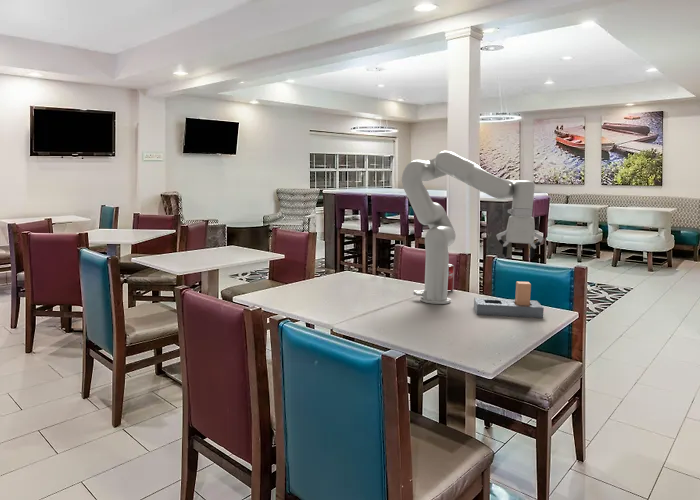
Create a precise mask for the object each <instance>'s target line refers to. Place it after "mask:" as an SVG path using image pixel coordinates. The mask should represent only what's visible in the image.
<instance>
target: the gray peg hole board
mask: <svg viewBox="0 0 700 500" xmlns="http://www.w3.org/2000/svg"><path fill="white" fill-rule="evenodd" d="M473 309H474V311H475V314H476V316H477V315H479V316H497V317H498V316H499V317H511V318H512V317H514V318H515V317H517V318H529V317H535V318H534V319H544V309H545V308H544V306H543V305H541V303H540V302H539V301H538V300H531V299H530V305H515V299H512V298H511V299H510V298H508V299H507V298H506V299H505V298H489V297H487V298H486V297H473Z"/></svg>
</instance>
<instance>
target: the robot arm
mask: <svg viewBox="0 0 700 500" xmlns="http://www.w3.org/2000/svg"><path fill="white" fill-rule="evenodd" d="M448 175H449V176H451V177H453V178H455V179H456V180H458V181H460V182H463V183H465V184H466V185H468V186H470V187H473V188H474V189H476V190H478V191H479V192H482V193H483V194H485V195H488V196H490V197H492V198H494V199H496V200H497V199H498V200H499V199H500V200H506V199H507V200H508V199H512V202H511V208H510V209H507V214H510V216H509V217H508V219H507V220H508V221H507V225H506V229H505V230H504V231H502V232H499V233H497V234H496V238H497V240H498V242H499V244H500V245H501V246H502V253H501V255H503V258H506V257H507V256H508V255H507V254H508V246H507V245H509V244H510V243H513V244H529V245H530V247H529V254H528V256H529V259H531V260H533V257H535V253H536V249H537V247H539V246H540V245H541V243H542V242H543V240H544V236H542V235H539V234H538V233H537V232H535V231H536V230H535V228H536V226H535V222H536V221H535V217H533V209H534V197H535V182H534V181H532V180H511V179H506V178H505V179H504V178H501V177H499V176H497V175H494V174H493V173H490V172H488V171H486V170H484V169H483V168H481V166H479V164H476V162H473V161H471V160H469V159H466V158H464V157H462V156H460V155H458V154H457V153H455V152H453V151H450V150H442V151H440V152H438V153H437V154H436V156H435V158H431V159H428V160H423V159H414V160H412V161H410V162H409V163H408V164H407V165H406V166H405V168H404V170H403V172H402V177H401V184H402V188H403V190H404V192H405V194H406V196H407V199H408V201H409V204H410V205H411V209H413V211H414V214H415V216H416V218H417V221H418V222H419V223H420V224H421V225H423V226H427V227H428V228H429V229H428V230H427V231H426V233H425V236H424V246H425V247H424V248H425V262H424V263H425V266H424V267H425V268H424V288H423V289H422V290H413V296H416V297H417V296H418V297H419V296H420V301H421V302H423V303H425V304H432V305H443V304H449V303H451V302H452V299H451V298H450V297H448V292H447V290H448V267H449V264H450V262H449V261H450V256H449V246H452V245H453V243H454V242H455V241H456V230H455V229H454V226H453V224H452V222H451V220H450V218H449V216H448V214H447V211H446V210H445V208H444V207H443V206H442V205H441V204H440V203H438V202H434V201H433V199H432V198H431V196H430V194H429V192H428V189H427V188H426V187H425V184H424V182H428V181H432V180H435V179H438V178H441V177H444V176H448ZM504 236H505V240H504V241H503V239H502V237H504ZM535 238H537V241H536V242H535Z"/></svg>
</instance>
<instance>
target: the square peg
mask: <svg viewBox="0 0 700 500" xmlns="http://www.w3.org/2000/svg"><path fill="white" fill-rule="evenodd" d="M531 292H532V284H531V283H530V282H529V281H516V282H515V298H514V300H515V305H530V300H531Z"/></svg>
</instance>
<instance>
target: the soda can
mask: <svg viewBox="0 0 700 500" xmlns="http://www.w3.org/2000/svg"><path fill="white" fill-rule="evenodd" d="M454 280H455V265H454V264H451V263H449V267H448V290H453V291H454V284H455V283H454V282H455V281H454Z"/></svg>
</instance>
